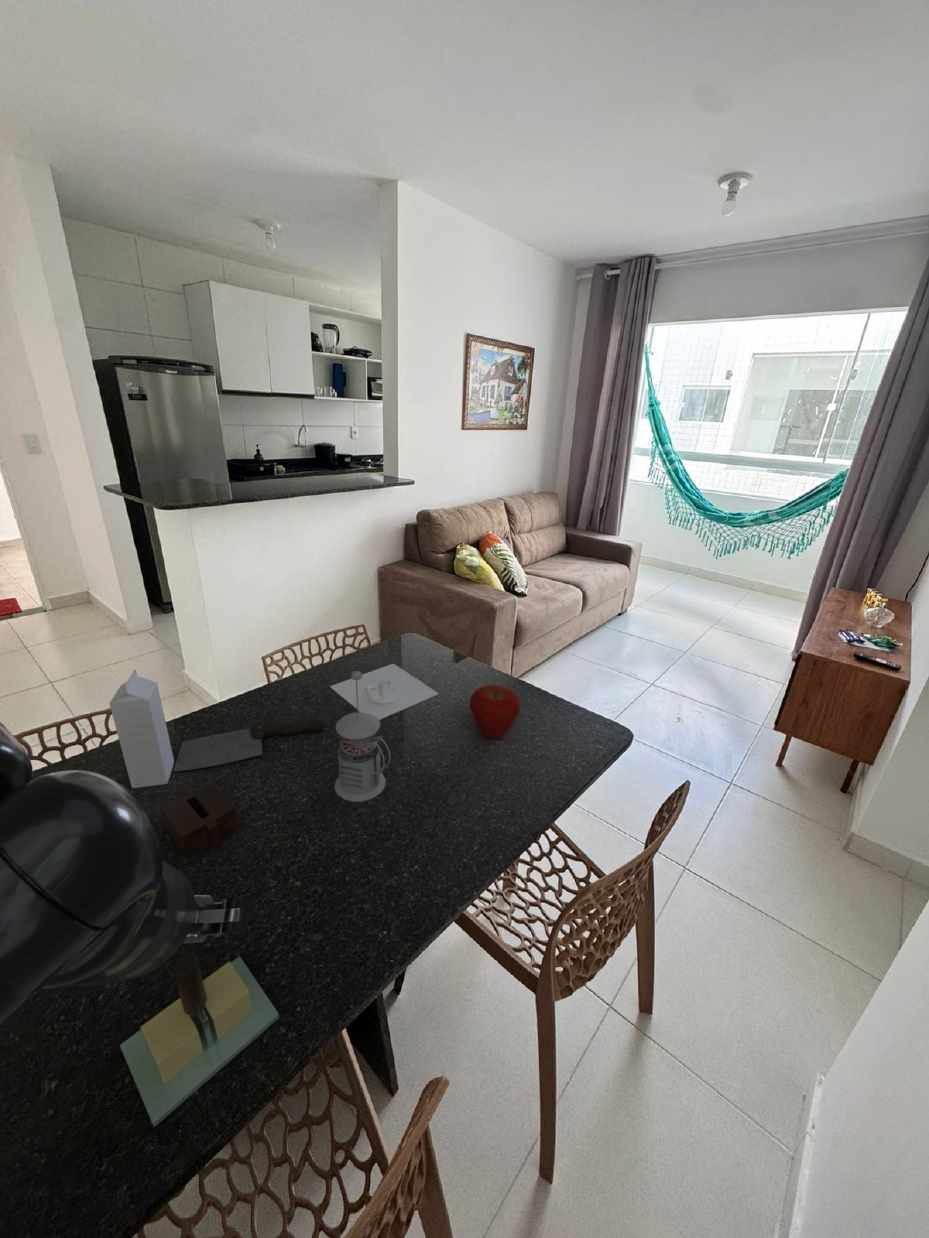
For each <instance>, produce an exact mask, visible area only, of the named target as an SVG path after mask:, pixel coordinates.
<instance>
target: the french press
mask: <svg viewBox="0 0 929 1238" xmlns="http://www.w3.org/2000/svg"><path fill="white" fill-rule="evenodd" d="M362 675H363V674H362V672H360V671H359V670H354V671H353V672H351V675H350V677H351V678H350V679H353V680H356V696H357V709H356V712H351V713H348V714H346V715H344V716H342V717H341V718H340V719H339V720H338V721H337V722H336V724H335V730H336V733H337V735H339V736H340V737H341V739H340V741H339V745H338V746H339V748H338V751H337V762H338V777H337V778H336V779H335V782H334V786H333V787H334V790H335V793H336V795H338V796H339V797H340V798H341V799H343V800H346V801H349V802H365V801H366V802H367V801H369V800H372V799H374V798H376V797H378V795H380V794H382V791H384V789H385V787H386V780H387V779H386V778H385V775H384V774H383V771H384V770H385V769H386V768H388V767H389V766H390V764H391V751H390V749H389V746H388V745H387V743H386V741H385V740H384V739H383V738H382V737H381V736H376V734H377V732H378V731H379V730H380V729H381V728H380V727H381V721H380V720H379V719H378V718H377V717H375V716H374V715H372V714H369V713H361V712H359V711H358V690H357V680H360V679H361V678H362ZM379 739H380V741H382V742H383V744H384V746H385V748H386V750H387V753H388V763H387V764H385V761H386V760H385V756H384V753H383V751H382V749H381V746H380V744H379ZM371 755H372V756H371ZM367 756H370V757H367ZM381 756H382V767H381ZM361 757H365V758H361ZM354 758H357V759H354ZM358 758H359V759H358Z"/></svg>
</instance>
